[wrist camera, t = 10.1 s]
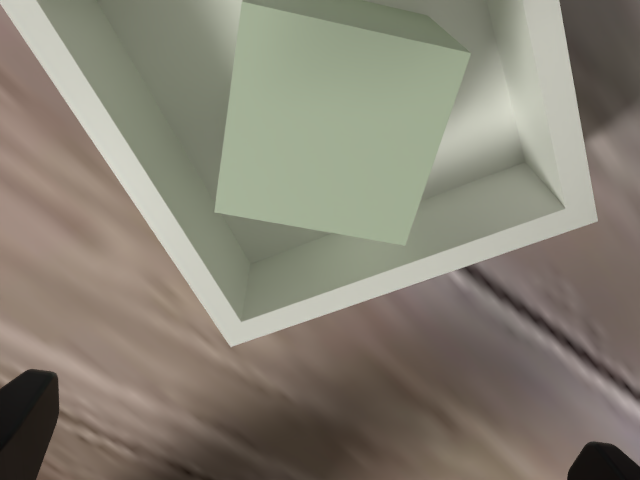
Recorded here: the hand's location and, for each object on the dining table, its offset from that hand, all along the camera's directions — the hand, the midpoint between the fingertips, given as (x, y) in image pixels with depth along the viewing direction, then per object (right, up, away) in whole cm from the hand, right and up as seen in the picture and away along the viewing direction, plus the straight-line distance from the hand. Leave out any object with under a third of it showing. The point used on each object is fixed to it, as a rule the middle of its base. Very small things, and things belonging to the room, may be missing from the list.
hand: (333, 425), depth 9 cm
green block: (0, +8, +8) cm, 11 cm away
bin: (0, +8, +8) cm, 12 cm away
